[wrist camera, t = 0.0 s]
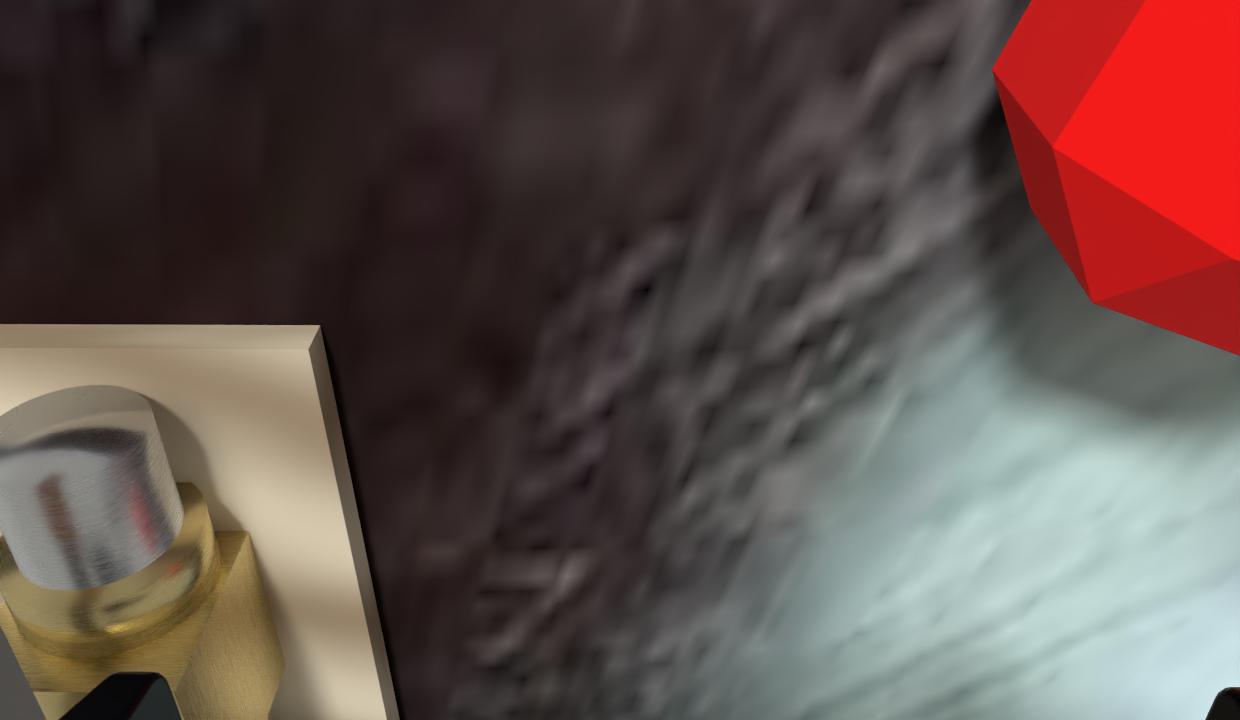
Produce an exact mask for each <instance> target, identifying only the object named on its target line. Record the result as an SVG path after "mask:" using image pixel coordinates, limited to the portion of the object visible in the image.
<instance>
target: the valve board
mask: <svg viewBox="0 0 1240 720" xmlns="http://www.w3.org/2000/svg"><path fill="white" fill-rule="evenodd" d="M86 385H111V386H119V387H123V388H127V389H130V390H132V391H135V392H137V393H138V394H140V395H141V396H143V397H144V398H145V399H146V400H147V401H148V403H149V404H150V407H151V409H152V412H153V415H154V418H155V421H156V424H157V427H158V431H159V434H160V437H161V440H162V443H163V446H164V449H165V452H166V455H167V458H168V462H169V465H170V468H171V471H172V474H173V477H174V480H175V482H192V483H193V484H194V485H195V486H196V487H197V488H198V489H199V490H200V492H201V493H202V495H203V497H204V499H205V502H206V505H207V509H208V512H209V515H210V518H211V522H212V525H213V528H214V531H249V534H250V538H251V541H252V545H253V548H254V552H255V556H256V559H257V563H258V566H259V570H260V573H261V577H262V580H263V584H264V588H265V591H266V595H267V598H268V602H269V605H270V609H271V612H272V616H273V619H274V623H275V627H276V630H277V634H278V637H279V641H280V644H281V648H282V651H283V655H284V659H285V662H286V667H285V669H284V672H283V675H282V678H281V680H280V683H279V686H278V689H277V691H276V694H275V697H274V700H273V702H272V705H271V708H270V715H271V718H272V720H400V719H399V714H398V709H397V704H396V699H395V694H394V689H393V684H392V679H391V674H390V669H389V664H388V659H387V654H386V649H385V644H384V639H383V634H382V629H381V624H380V620H379V615H378V610H377V605H376V600H375V595H374V590H373V585H372V580H371V575H370V570H369V565H368V560H367V555H366V550H365V545H364V540H363V535H362V530H361V525H360V520H359V515H358V511H357V506H356V501H355V496H354V491H353V486H352V481H351V476H350V471H349V466H348V461H347V456H346V451H345V446H344V441H343V436H342V431H341V426H340V421H339V416H338V411H337V406H336V402H335V397H334V392H333V387H332V382H331V377H330V372H329V367H328V362H327V357H326V352H325V347H324V342H323V337H322V332H321V327H320V325H79V324H0V416H1V415H3V414H4V413H6V412H7V411H9V410H11V409H12V408H14V407H16V406H18V405H20V404H22V403H24V402H26V401H29V400H31V399H33V398H36V397H39V396H41V395H44V394H47V393H51V392H54V391H58V390H62V389H66V388H72V387H77V386H86ZM1 536H2V531H1V529H0V538H1ZM4 602H5V601H4V599H3V596H2V594H1V592H0V608H1V606H2V605H3V603H4Z"/></svg>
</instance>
